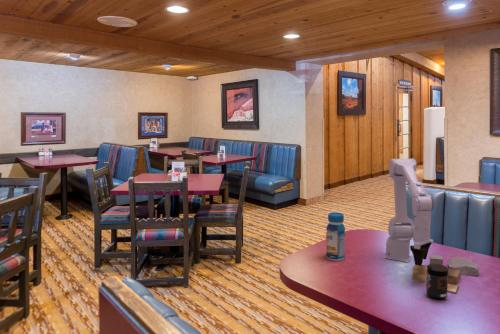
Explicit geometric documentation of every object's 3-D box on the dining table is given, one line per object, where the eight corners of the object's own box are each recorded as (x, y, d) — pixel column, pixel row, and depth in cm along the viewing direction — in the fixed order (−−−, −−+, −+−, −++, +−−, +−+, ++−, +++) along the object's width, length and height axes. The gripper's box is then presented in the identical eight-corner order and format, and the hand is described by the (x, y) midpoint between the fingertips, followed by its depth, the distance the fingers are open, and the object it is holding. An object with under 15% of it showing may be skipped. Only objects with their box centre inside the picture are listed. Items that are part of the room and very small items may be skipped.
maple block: (412, 279, 147) (412, 267, 146) (415, 275, 150) (415, 263, 150) (424, 282, 144) (425, 269, 144) (427, 278, 148) (428, 265, 147)
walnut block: (435, 281, 146) (436, 272, 145) (440, 275, 151) (440, 266, 151) (456, 286, 141) (457, 277, 141) (460, 279, 147) (460, 270, 146)
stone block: (454, 279, 150) (482, 276, 148) (452, 268, 150) (479, 264, 148) (445, 269, 162) (470, 265, 160) (443, 258, 162) (468, 254, 160)
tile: (435, 289, 138) (435, 287, 138) (439, 282, 144) (439, 281, 144) (456, 293, 134) (456, 292, 134) (459, 286, 140) (459, 285, 140)
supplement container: (435, 290, 137) (436, 262, 136) (451, 298, 131) (453, 269, 130) (421, 294, 135) (422, 265, 133) (437, 302, 129) (438, 272, 127)
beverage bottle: (347, 261, 167) (347, 216, 164) (327, 261, 167) (327, 216, 164) (342, 254, 175) (343, 211, 172) (324, 254, 175) (324, 211, 173)
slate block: (430, 270, 156) (430, 258, 155) (429, 266, 160) (429, 254, 159) (442, 271, 154) (443, 259, 153) (441, 267, 158) (441, 255, 157)
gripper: (429, 233, 137) (427, 270, 138) (437, 224, 148) (435, 258, 150) (408, 230, 141) (407, 266, 142) (417, 221, 152) (416, 254, 154)
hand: (420, 261), depth 146 cm, fingers open, 7 cm apart
